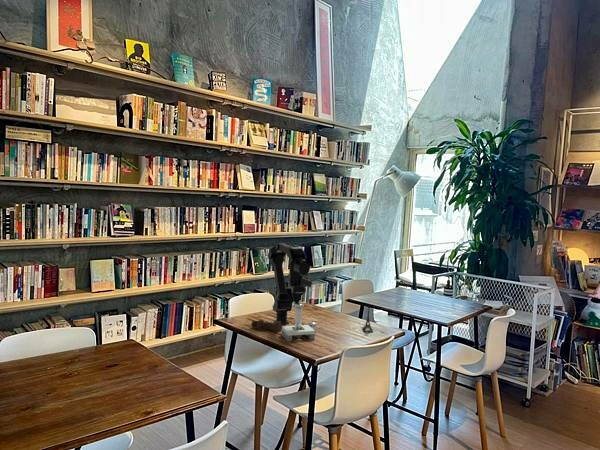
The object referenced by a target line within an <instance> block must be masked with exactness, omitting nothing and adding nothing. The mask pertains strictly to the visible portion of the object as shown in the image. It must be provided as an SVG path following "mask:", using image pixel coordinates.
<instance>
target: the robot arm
mask: <svg viewBox="0 0 600 450" xmlns="http://www.w3.org/2000/svg"><path fill="white" fill-rule="evenodd" d="M286 256H287V258H288V261H287V262H288V263H289V272H288V275H287V276H288V277H289V278H288V281H285V273H284V269H283V263H284V261H285V258H286ZM267 260H268V262H269V264H270V265H271V267H272V269H273V273H274V280H275V287H276V292H277V293H276V296H275V298H274V300H275V301H274V303H273V304H272V311H273V312H275V313H276V314H275V319H274V320H273V321H274V323H276V322H278V321H281V323H282V325H284V324H285V325H286V324H288V325H289V324H290V322H289V321H288V312H291V311H292V308H293V304H295V303H300V300H301V297H302V295H304V294H306V292H307V289H306V288H307V287H308V288H312V286H313V285H312V284H313V281H312V280H310V279H309V277H307V276H306V275H307V274H309V273H310V270H311V267H310V265H309V263H307V255H306V253H305V250H304V249H303V247H302V246H292V245H290V244H286V243H285V242H276V243H275V244H274V246H272V247H271V248H269V251H268V253H267ZM303 275H304V276H303ZM305 286H306V287H305Z"/></svg>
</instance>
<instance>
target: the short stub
mask: <svg viewBox="0 0 600 450" xmlns="http://www.w3.org/2000/svg"><path fill="white" fill-rule="evenodd" d="M307 325H309V326H310V327H311V328H312V329H313V330H315V334H316V331H317V330H316V329H317V326H318V322H316V321H308V323H307Z"/></svg>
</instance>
